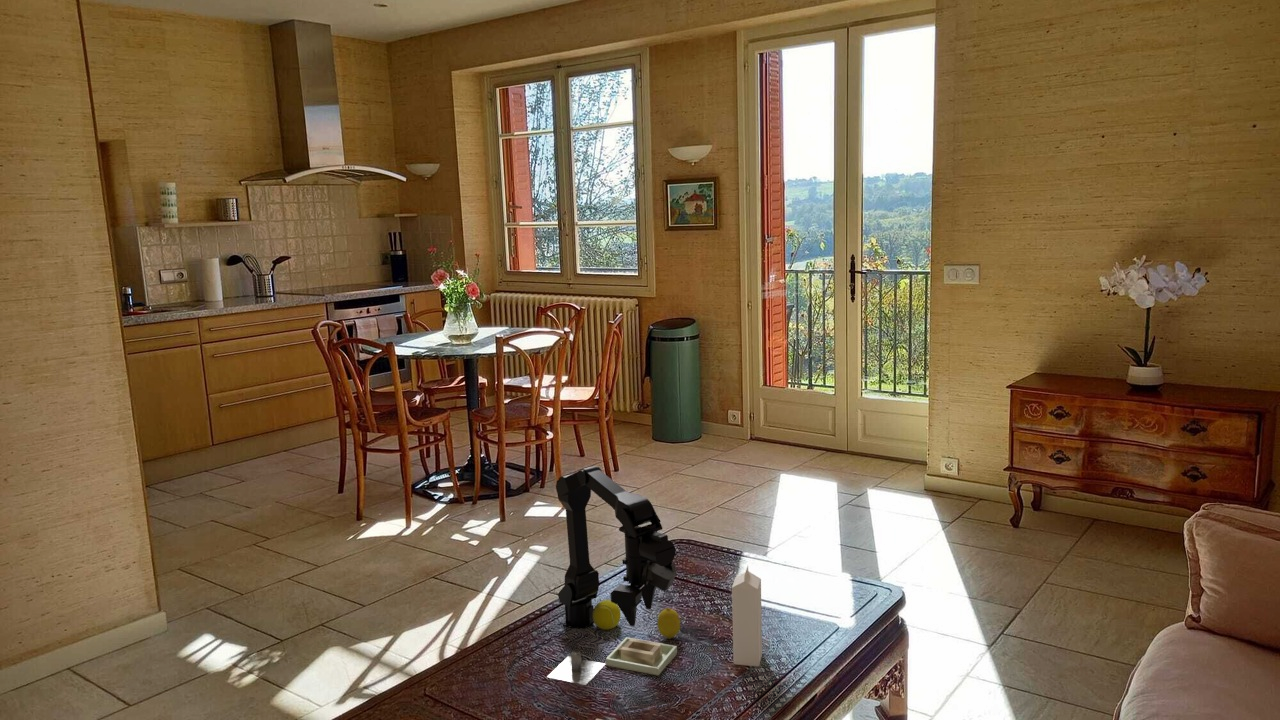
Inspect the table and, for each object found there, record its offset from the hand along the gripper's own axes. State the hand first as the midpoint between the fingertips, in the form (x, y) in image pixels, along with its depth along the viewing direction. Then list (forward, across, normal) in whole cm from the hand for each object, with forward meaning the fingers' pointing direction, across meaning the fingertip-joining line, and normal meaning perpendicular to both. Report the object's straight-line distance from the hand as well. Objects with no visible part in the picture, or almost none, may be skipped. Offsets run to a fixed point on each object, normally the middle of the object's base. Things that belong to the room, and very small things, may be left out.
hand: (640, 617), depth 210 cm
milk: (+11, +9, -23) cm, 27 cm away
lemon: (+11, +12, -2) cm, 17 cm away
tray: (+11, 0, 0) cm, 11 cm away
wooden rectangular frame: (+10, 0, 0) cm, 10 cm away
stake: (+11, -10, +12) cm, 19 cm away
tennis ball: (+11, +12, +15) cm, 22 cm away
